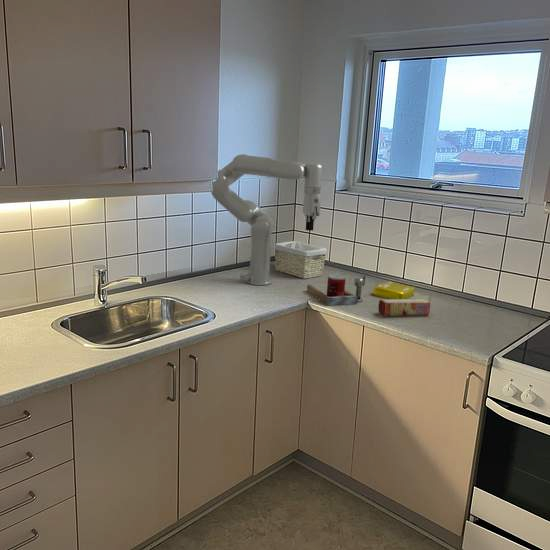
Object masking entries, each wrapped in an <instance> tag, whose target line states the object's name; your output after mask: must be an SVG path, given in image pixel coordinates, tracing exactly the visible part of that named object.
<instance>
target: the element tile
mask: <svg viewBox="0 0 550 550" xmlns="http://www.w3.org/2000/svg"><path fill="white" fill-rule="evenodd" d="M415 289H416V288H415V287H414V286H410V285H406V284H401V283H397V282H393V281H384V282H382V283H380V284H378V285H375V286H374V287H373V295H374V296H375V297H378V296H379V298H382V299H411V298H413V297H414V294H415ZM412 296H413V297H412ZM410 297H411V298H410Z"/></svg>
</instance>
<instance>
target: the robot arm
mask: <svg viewBox="0 0 550 550" xmlns="http://www.w3.org/2000/svg"><path fill="white" fill-rule="evenodd" d="M217 171H218V178H217V180H216V181H214V182H213V191H212V192H211V191H210V193H211V195H212V197H213V199H215V201H217V203H218V204H220V205H221V206H222V207H223V208H224V209H225V210H226V211H227V212H228V213H230V214H231V215H232V216H234V218H236V219H237V220H238V221H240V222H242V223H247V224H249V225H250V257H249V259H250V260H249V261H250V263H249V271H247V273H245V274H244V273H243V274H239V278H240V279H243V280H245V281H246V283H247V284H249V285H254V286H268V285H271V284H272V283H273V279H272V278H270V272H271V271H270V270H271V268H270V266H271V254H272V252H271V250H272V231H273V229H274V224H275V223H274V219H273V218H272V217H271V216H270V215H269V214H268V213H267V212H266V211H265V210H263V209H262V208H261V207H259V205H257V204H256V203H255V202H253V201H251V200H248V199H247V200H246V199H243V198H241V197H240V195H238V194H237V193H236V192H234V190H232V189H231V188H230V186H231V185H232V184H234V183H235V182H237V181H238V180H239V179H241V178H242V177H243V176H244V175H251V176H252V175H253V176H257V177H258V176H260V177H267V178H276V179H285V180H292V181H293V180H294V181H296V180H300V179H304V186H303V194H304V196H303V202H302V213H303V214H304V216H305V231H307V232H308V231H314V223H315V220H317V217H320V215H321V186H322V176H323V175H322V174H323V173H322V172H323V166H322V164H321V163H313V162H311V163H306V162H300V161H294V162H292V161H291V162H289V161H284V160H283V161H282V160H276V159H272V158H270V157H265V156H255V155H248V154H243V153H242V154H238V155H236V156H235V157H234V158H233V159H232V160H231V161H230V162H229V163H228V164H227V165H225V166H224V167H223V168H221V169H219V170H217Z"/></svg>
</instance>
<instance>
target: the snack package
mask: <svg viewBox="0 0 550 550" xmlns="http://www.w3.org/2000/svg"><path fill="white" fill-rule="evenodd" d="M430 310H431V303H430V301H428V300H427V299H425V298H424V299H423V298H421V299H420V298H417V299H414V298H413V299H411V298H409V299H387V298H382V299H380V300H379V302H378V312H379V314H380V315H381V316H382V315H383V317H399V316H401V317H402V316H428V315H429V314H430V312H431V311H430Z"/></svg>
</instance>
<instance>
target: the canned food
mask: <svg viewBox="0 0 550 550" xmlns="http://www.w3.org/2000/svg"><path fill="white" fill-rule="evenodd" d="M345 287H346V276H345V275H343V274H340V273H332V274H328V276H327V287H326V295H327V296H328V297H337V296H344V290H346V289H345Z"/></svg>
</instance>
